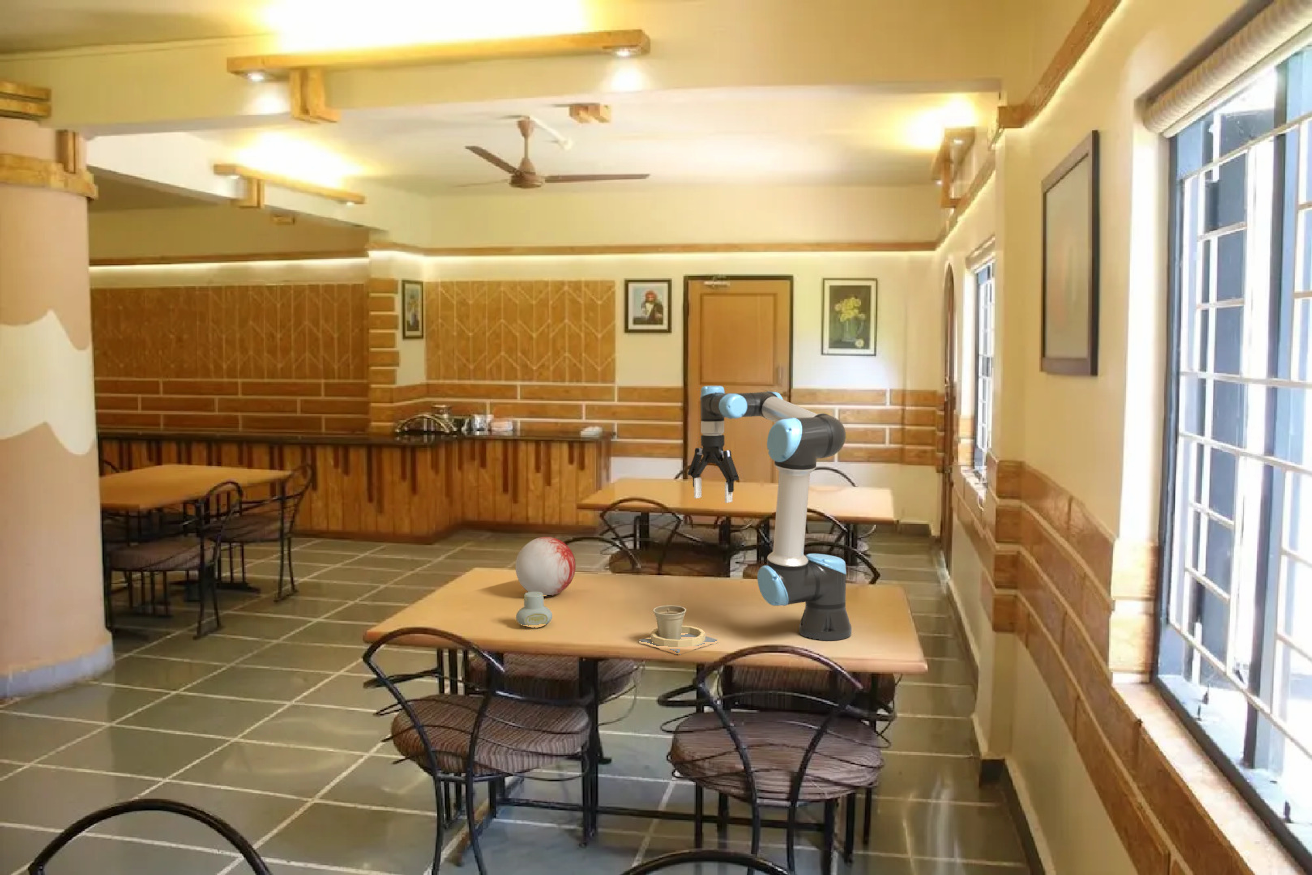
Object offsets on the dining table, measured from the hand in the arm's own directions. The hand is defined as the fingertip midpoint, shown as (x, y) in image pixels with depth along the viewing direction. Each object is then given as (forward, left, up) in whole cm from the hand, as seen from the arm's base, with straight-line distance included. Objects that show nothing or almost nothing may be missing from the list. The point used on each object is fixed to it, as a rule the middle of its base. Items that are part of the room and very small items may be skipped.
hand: (713, 500), depth 333 cm
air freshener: (+23, +55, -35) cm, 69 cm away
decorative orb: (+50, +30, -35) cm, 68 cm away
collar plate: (-21, +37, -35) cm, 55 cm away
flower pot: (-19, +38, -34) cm, 55 cm away
